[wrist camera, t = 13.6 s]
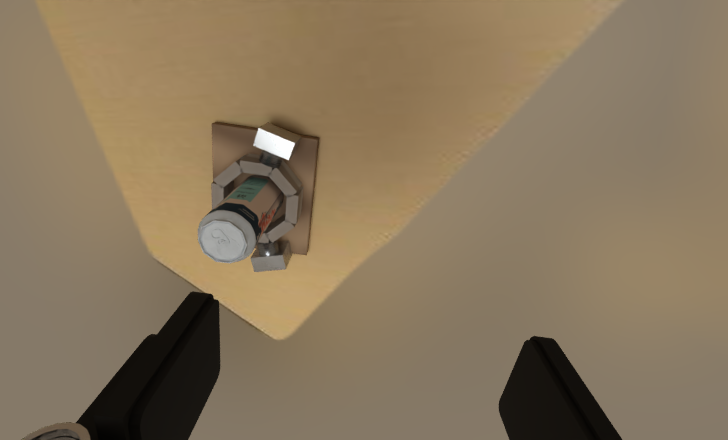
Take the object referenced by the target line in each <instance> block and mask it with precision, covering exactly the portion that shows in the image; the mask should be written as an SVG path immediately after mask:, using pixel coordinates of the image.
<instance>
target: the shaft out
mask: <svg viewBox="0 0 728 440" xmlns="http://www.w3.org/2000/svg"><path fill="white" fill-rule="evenodd" d="M291 256H292V251H291V246H290V242H289V241H280V242H277V240H276V241H274V242H271V241H269V243H260V242H258V243H257V249H256V250H255V252H254V253H253V255H252V257H251V261H252V265H253V269H254V272H260V271H271V270H282V269H286V268H287V265H288V263H289V260H290V258H291Z"/></svg>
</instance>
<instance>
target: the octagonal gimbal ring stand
mask: <svg viewBox="0 0 728 440" xmlns="http://www.w3.org/2000/svg"><path fill="white" fill-rule="evenodd" d="M257 131H258V128H252V127H246V126H239V125H233V124H226V123H220V122H215V123H212V152H213V183H211V185H212V210H213V209H214V208H215V207H216V206H217V205H218V204H219V203H220V202H221V201H222V200H224V199H225V198H226V197H227V196H228V195H229V194H230V193H231V192H232V191H233V190H234V189H235V188H237V187H238V186H239V185H240V184H241V183H242V182H243V181H244V180H245V179H247V178H248V177H249V176H252V175H255V174H257V175H263V176H269V177H270V178H271V179H272V180H273V181H274V183H275V184H276V185H277V186H278V187H279V188H280V189H281V191H282V192H283V202H282V205H281V207H280V208H279V210H278V211H277V213H276V214H275V216H274V218H273V219H272V221H271V222H270V224H269V226H268V227H267V229H266V230H265V232H264V233H263V235H262V237H261V238H260V240H259V241H258V242H260V243H269V241H271V242H274V241H276V240H277V242H280V241H289V242H290V246H291V251H292V253H294V254H301V255H307V252H308V246H309V236H310V225H311V215H312V205H313V195H314V184H315V174H316V164H317V153H318V143H319V138H318V137H311V136H305V135H299V136H301V139H300V141H299V144H298V147H297V150H296V152H295V154H294V155H293V156H292V157H291V158H290V159H289V160H287V159H284V158H283V161H282V164H281V166H280V168H272V167H268V166H266V165H264V164H262V163H261V162H260V161H259V157H260V154H261V151H262V149H260V148H258V147H256V146H253V144H254V141H255V138H256V135H257ZM296 135H298V134H296ZM255 248H257V245H256V246H255Z"/></svg>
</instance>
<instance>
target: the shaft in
mask: <svg viewBox="0 0 728 440" xmlns="http://www.w3.org/2000/svg"><path fill="white" fill-rule="evenodd" d="M300 139H301V136H299V135H296V134H294V133H292V132H289V131H287V130H285V129H282V128H280V127H278V126H275V125H273V124H271V123H266V124H265V125H263V126H261V127H259V128H258V131H257V135H256V138H255V141H254V144H253V146H256V147H258V148H260V149H262V151H261V154H260V157H259V161H260V162H261V163H262V164H264V165H266V166H268V167H272V168H280V166H281V164H282V161H283V158H284V159H287V160H289V159H290V158H291V157H292V156H293V155H294V154H295V152H296V150H297V147H298V144H299V141H300Z"/></svg>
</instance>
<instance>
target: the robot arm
mask: <svg viewBox="0 0 728 440" xmlns="http://www.w3.org/2000/svg"><path fill="white" fill-rule="evenodd" d="M219 371H220V330H219V301H218V300H214V299H213V295H212V294H207V293H200V292H191V293H190V294H189V295H188V296H187V297H186V298H185V300H184V301H183V302H182V303H181V305H180V306H179V307H178V309H177V310H176V311H175V312H174V314H173V315H172V316H171V317H170V319H169V320H168V321H167V323H166V324H165V325H164V326H163V328H162V329H161V330H160V331H159V333H158V334H157V335H155V334H151V335H149V336H147V338H146V339H144V340H143V342H142V343H141V344H140V345H139V347H138V348H137V349H136V350H135V351H134V353H133V354H132V355H131V356H130V357H129V359H128V360H127V361H126V362H125V364H124V365H123V366H122V367H121V368H120V370H119V371H118V372H117V373H116V374H115V376H114V377H113V378H112V379H111V381H110V382H109V383H108V384H107V385H106V387H105V388H104V389H103V390H102V392H101V393H100V394H99V395H98V397H97V398H96V399H95V400H94V402H93V403H92V404H91V405H90V406H89V407H88V409H87V410H86V411H85V412H84V413H83V415H82V416H81V417H80V418H79V420H78V421H77V422H76V423H71V422H66V423H56V424H53V425H50V426H46V427H43V428H41V429H39V430H37V431H35V432H33V433H31V434H29V435H27V436H26V437H24V438H23V439H21V440H188V438H189V437H190V435H191V432H192V430H193V428H194V426H195V424H196V422H197V420H198V418H199V416H200V414H201V412H202V410H203V408H204V406H205V403H206V402H207V399H208V397H209V395H210V393H211V391H212V389H213V387H214V385H215V383H216V381H217V378H218V375H219ZM499 412H500V416H501V418H502V421H503V424H504V426H505V429H506V432H507V434H508V437H509V440H622V439H621V437H620V436H619V434H618V433H617V431H616V430H615V428H614V427H613V425H612V424H611V422H610V421H609V419H608V418H607V416H606V415H605V413H604V412H603V410H602V409H601V408H600V406H599V404H598V403H597V401H596V400H595V399H594V397H593V395H592V394H591V392H590V391H589V390H588V388H587V387H586V385H585V384H584V382H583V381H582V379H581V378H580V376H579V375H578V373H577V372H576V370H575V369H574V367H573V366H572V365H571V363H570V361H569V360H568V359H567V357H566V355H565V354H564V352H563V351H562V349H561V348H560V347H559V345H558V344H557V342H556V341H555V340H554V339H552V338H544V337H537V336H533V337H531V338H530V340H526V341H525V342H524V345H523V347H522V349H521V351H520V354H519V356H518V358H517V361H516V363H515V365H514V368H513V370H512V373H511V375H510V377H509V380H508V382H507V384H506V387H505V389H504V391H503V394H502V396H501V398H500V401H499Z"/></svg>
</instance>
